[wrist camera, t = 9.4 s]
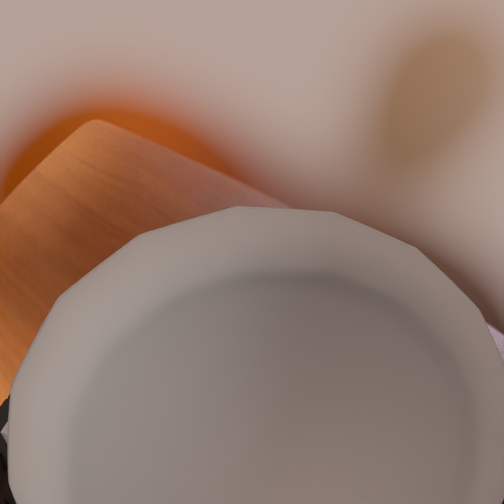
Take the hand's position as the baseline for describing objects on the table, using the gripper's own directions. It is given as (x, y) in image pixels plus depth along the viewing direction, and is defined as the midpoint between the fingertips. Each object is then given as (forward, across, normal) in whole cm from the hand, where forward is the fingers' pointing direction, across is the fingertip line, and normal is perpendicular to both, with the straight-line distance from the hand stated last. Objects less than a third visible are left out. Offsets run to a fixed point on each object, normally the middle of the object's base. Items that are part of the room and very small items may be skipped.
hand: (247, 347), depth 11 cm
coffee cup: (+1, 0, -6) cm, 6 cm away
